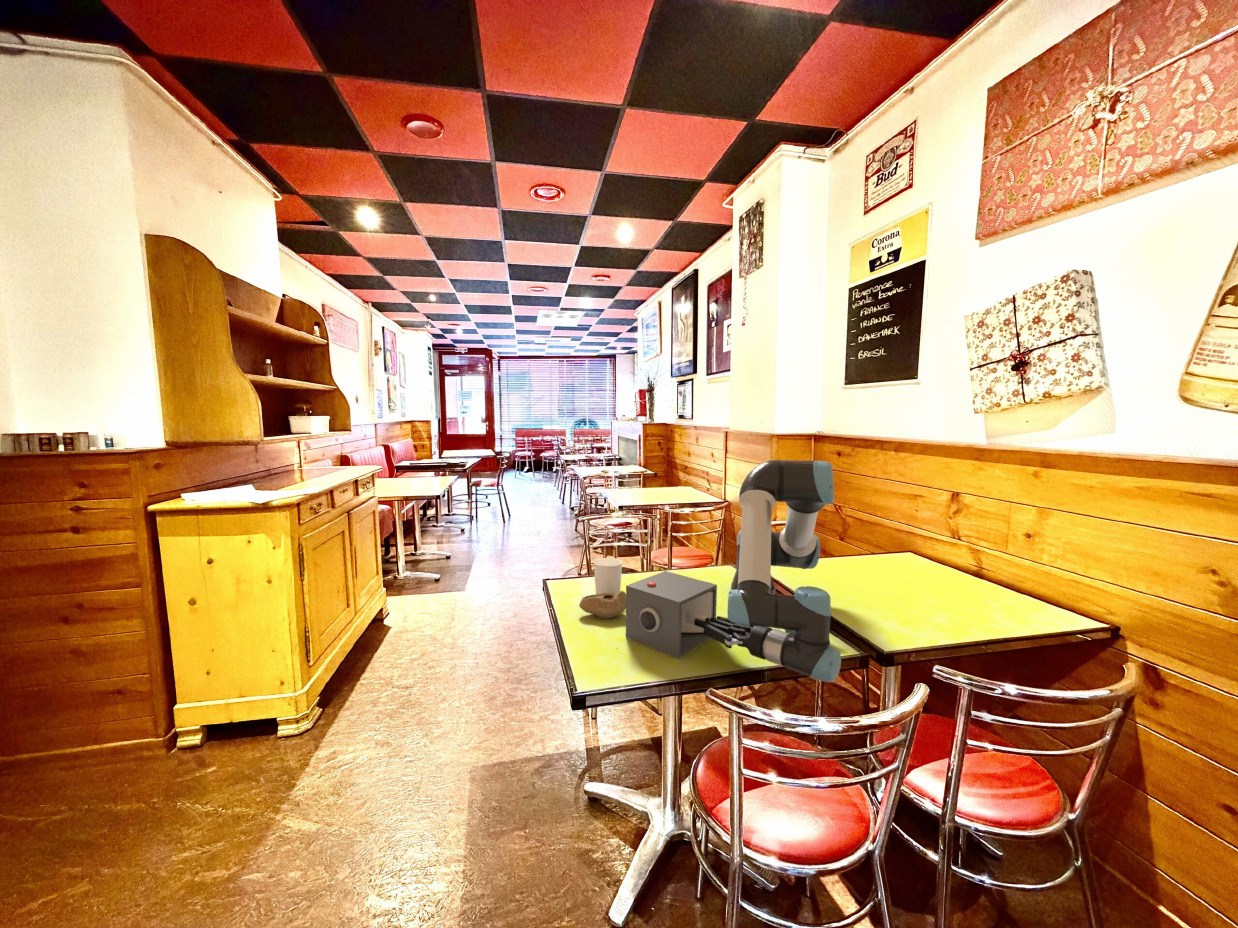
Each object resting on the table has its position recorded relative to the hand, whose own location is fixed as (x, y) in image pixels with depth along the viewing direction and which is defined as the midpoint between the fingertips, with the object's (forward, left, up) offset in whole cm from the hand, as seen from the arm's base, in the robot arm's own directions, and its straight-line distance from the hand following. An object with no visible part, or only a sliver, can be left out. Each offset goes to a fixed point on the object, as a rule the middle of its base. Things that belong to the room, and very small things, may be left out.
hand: (687, 616), depth 131 cm
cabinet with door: (+2, -5, -8) cm, 10 cm away
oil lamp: (+16, -25, -8) cm, 31 cm away
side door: (-1, -3, -6) cm, 7 cm away
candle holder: (+10, -41, -8) cm, 43 cm away
